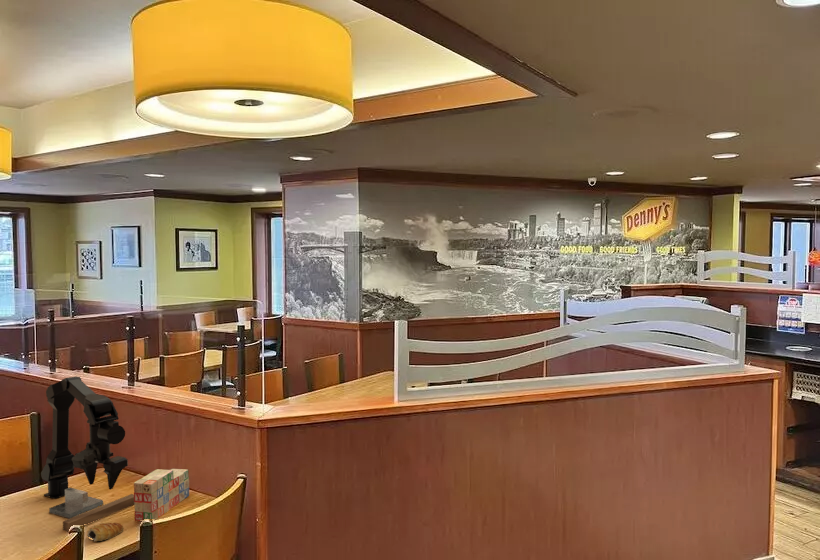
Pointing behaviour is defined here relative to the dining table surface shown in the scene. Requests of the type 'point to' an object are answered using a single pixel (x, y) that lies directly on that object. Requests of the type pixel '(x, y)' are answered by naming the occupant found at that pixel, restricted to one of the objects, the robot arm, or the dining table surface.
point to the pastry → (104, 531)
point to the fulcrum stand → (75, 503)
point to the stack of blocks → (160, 492)
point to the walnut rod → (99, 512)
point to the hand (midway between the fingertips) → (101, 486)
